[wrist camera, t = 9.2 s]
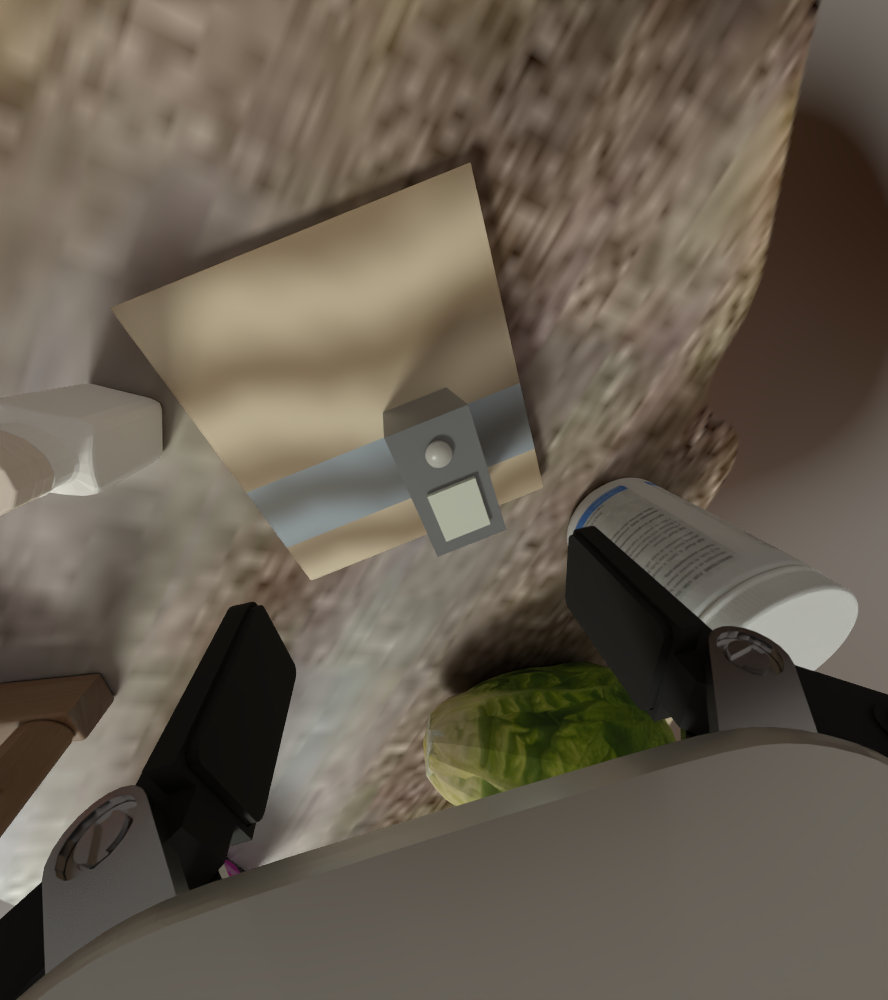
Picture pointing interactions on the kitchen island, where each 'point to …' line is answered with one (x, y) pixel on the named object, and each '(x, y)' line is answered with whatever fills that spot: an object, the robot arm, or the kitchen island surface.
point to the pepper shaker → (74, 441)
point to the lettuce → (533, 729)
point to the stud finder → (444, 469)
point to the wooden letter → (42, 731)
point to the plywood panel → (343, 364)
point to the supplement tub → (722, 569)
